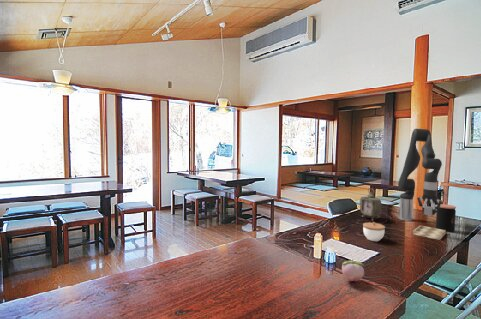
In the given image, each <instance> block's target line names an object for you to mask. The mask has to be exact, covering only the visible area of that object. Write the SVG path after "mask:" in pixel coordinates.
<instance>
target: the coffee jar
mask: <svg viewBox="0 0 481 319" xmlns="http://www.w3.org/2000/svg"><path fill="white" fill-rule="evenodd" d="M437 205H438V203H437ZM437 205H436V206H437ZM456 208H457V206H455V205H452V204H443V203H441V205H440V207H439V209H436V213H435V214H436V218H435V228H436V229H441V230H446V233H454V232H455V230H456V229H455V228H456V214H457V213H456V212H457V211H456Z"/></svg>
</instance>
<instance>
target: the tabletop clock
mask: <svg viewBox="0 0 481 319" xmlns="http://www.w3.org/2000/svg"><path fill="white" fill-rule="evenodd" d="M369 190H372V191H373V192H372V191H369ZM367 192H368V194H367V196H361V197H360V200H359V212H360V213H361V214H362V215H361V217H362V218H364V217H365V216H366V217H367V216H368V217H370V218H371V221H372V222H375V221H374V217H375V216H376V217H377V216H380V215H381V214H382V200H381V199H380V198H378V197H375V190H374V189H373V188H368V189H367Z"/></svg>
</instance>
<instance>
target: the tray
mask: <svg viewBox="0 0 481 319" xmlns="http://www.w3.org/2000/svg"><path fill="white" fill-rule="evenodd" d="M446 233H447V232H446V230H441V229H436V227H430V226H424V225H419V226H417V227H416V228H415V229H413V230H412V235H415V236H421V237H425V238H428V239H434V240H438V241H440V240H441V239H442V238H443V237H444V236H445V235H446Z"/></svg>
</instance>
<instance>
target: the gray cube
mask: <svg viewBox="0 0 481 319" xmlns="http://www.w3.org/2000/svg"><path fill="white" fill-rule="evenodd" d="M432 213H433V207H432V206H428V205H426V206H425V207H424V213H423V215H426V216H430V217H432V216H433V215H432Z"/></svg>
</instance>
